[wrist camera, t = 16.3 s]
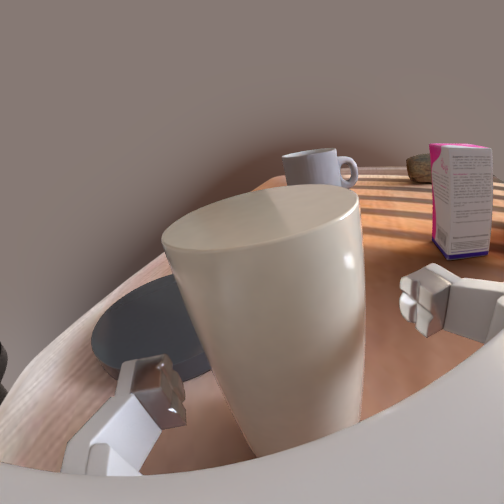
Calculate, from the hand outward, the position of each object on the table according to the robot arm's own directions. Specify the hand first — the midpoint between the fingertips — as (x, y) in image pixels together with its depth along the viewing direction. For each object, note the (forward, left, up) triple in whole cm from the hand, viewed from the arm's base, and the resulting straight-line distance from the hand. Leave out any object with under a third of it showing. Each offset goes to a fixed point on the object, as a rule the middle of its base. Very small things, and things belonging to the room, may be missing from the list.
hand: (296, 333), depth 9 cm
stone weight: (+60, +11, -8) cm, 61 cm away
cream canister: (+1, +2, -8) cm, 9 cm away
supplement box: (+27, 0, -8) cm, 28 cm away
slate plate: (+1, +18, -8) cm, 20 cm away
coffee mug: (+37, +27, -8) cm, 46 cm away
